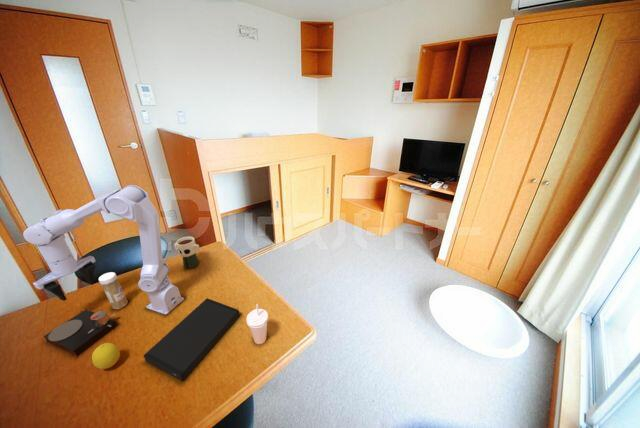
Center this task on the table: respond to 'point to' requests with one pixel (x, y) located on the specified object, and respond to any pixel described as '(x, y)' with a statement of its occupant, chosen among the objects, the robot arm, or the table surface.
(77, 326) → the burner
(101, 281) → the sprinkles bottle
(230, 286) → the table surface
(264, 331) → the smoothie
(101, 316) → the cupcake
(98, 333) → the hob
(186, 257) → the character mug
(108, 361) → the lemon
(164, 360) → the external hard drive
